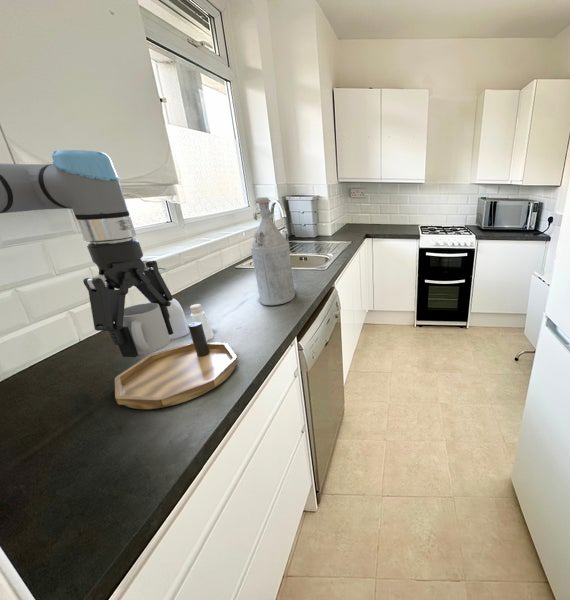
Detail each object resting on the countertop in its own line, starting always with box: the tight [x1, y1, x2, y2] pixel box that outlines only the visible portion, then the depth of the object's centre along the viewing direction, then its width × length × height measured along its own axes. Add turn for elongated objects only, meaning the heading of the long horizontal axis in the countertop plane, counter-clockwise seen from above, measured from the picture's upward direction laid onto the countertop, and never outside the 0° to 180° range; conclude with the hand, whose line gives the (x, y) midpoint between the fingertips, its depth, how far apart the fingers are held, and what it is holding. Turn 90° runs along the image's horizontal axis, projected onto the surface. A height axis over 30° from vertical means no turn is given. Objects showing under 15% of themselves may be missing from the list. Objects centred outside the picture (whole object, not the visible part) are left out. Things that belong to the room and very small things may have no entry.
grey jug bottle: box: [249, 196, 296, 306], centre depth 119 cm, size 13×17×40 cm
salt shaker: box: [189, 303, 215, 342], centre depth 94 cm, size 5×5×11 cm
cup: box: [123, 302, 171, 355], centre depth 66 cm, size 7×10×9 cm
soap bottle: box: [144, 267, 190, 341], centre depth 93 cm, size 10×10×23 cm
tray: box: [114, 322, 239, 410], centre depth 75 cm, size 24×24×10 cm
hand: (149, 344), depth 68 cm, fingers closed on cup, 9 cm apart
